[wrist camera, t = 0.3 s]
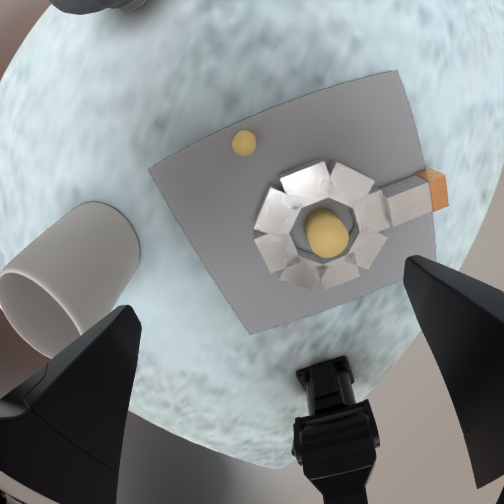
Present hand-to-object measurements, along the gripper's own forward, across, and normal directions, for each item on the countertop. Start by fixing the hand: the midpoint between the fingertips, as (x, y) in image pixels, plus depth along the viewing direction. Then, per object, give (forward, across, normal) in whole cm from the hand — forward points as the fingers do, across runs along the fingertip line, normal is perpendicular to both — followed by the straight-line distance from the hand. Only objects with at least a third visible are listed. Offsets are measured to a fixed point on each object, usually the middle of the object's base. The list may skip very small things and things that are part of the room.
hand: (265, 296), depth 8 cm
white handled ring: (+13, -7, +3) cm, 15 cm away
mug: (+14, +17, +3) cm, 22 cm away
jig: (+14, -4, +4) cm, 15 cm away
